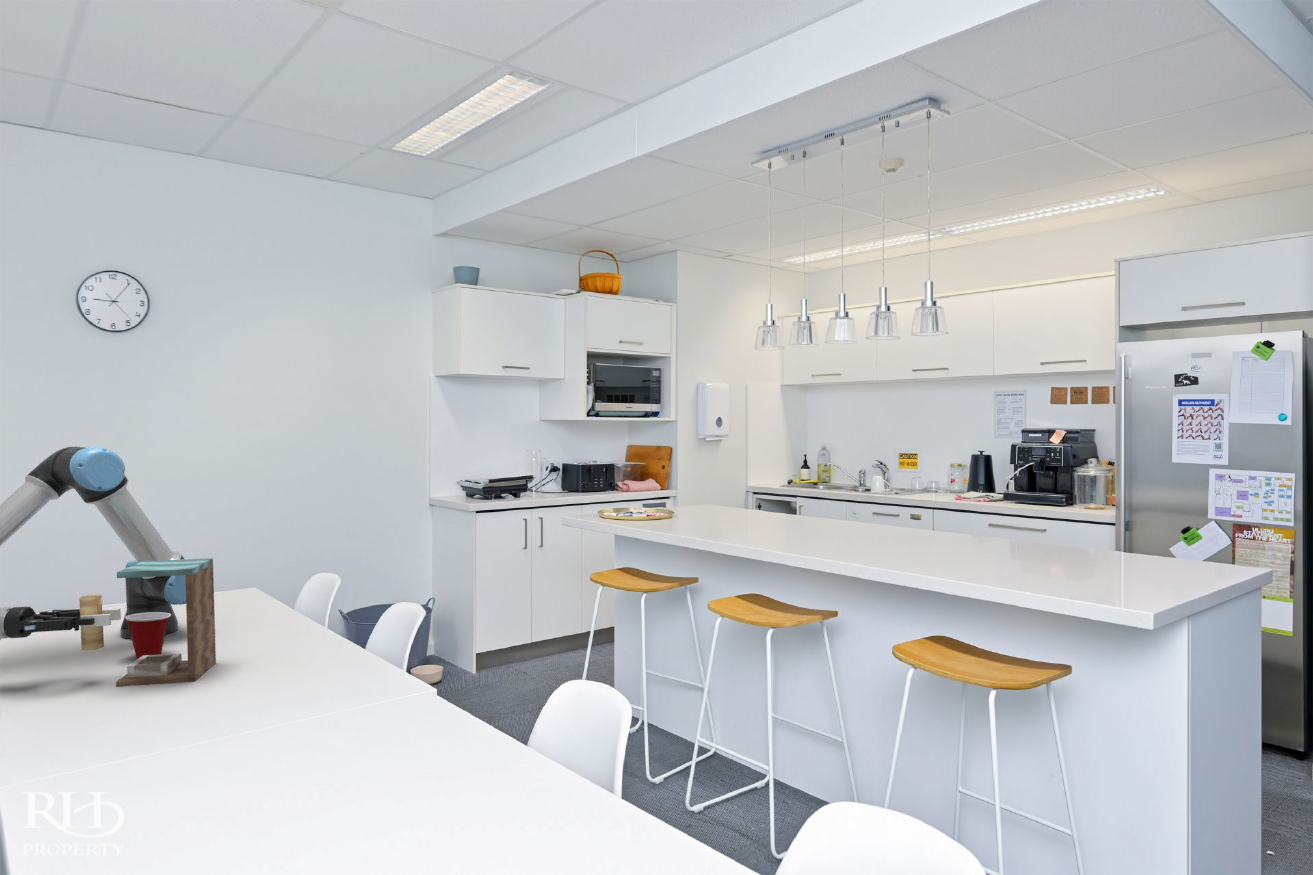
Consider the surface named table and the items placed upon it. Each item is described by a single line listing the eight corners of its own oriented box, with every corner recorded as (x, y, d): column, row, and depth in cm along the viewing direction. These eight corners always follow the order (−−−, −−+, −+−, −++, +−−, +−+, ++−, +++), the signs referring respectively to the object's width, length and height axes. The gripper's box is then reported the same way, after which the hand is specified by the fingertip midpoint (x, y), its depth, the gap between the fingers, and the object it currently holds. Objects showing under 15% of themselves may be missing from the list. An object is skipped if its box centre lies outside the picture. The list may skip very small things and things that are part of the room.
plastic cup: (178, 656, 224) (176, 613, 224) (133, 665, 216) (131, 621, 216) (165, 649, 232) (163, 607, 231) (121, 657, 224) (119, 614, 223)
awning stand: (142, 667, 215) (139, 561, 214) (215, 662, 218) (212, 558, 217) (116, 686, 200) (112, 572, 199) (194, 681, 204) (191, 568, 203)
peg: (87, 645, 205) (85, 595, 204) (107, 644, 206) (105, 594, 205) (77, 651, 200) (75, 599, 200) (98, 649, 201) (96, 598, 201)
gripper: (31, 628, 208) (131, 622, 213) (-11, 648, 191) (98, 641, 195) (30, 599, 208) (130, 594, 212) (-13, 616, 191) (97, 610, 195)
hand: (114, 616), depth 204 cm, fingers closed on peg, 4 cm apart
